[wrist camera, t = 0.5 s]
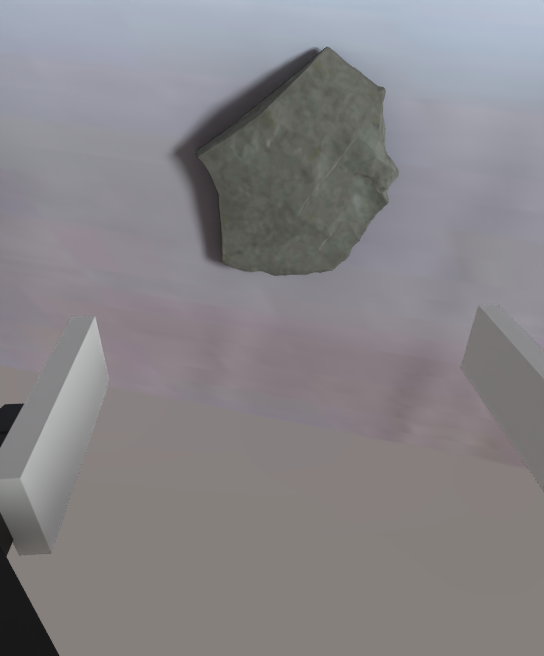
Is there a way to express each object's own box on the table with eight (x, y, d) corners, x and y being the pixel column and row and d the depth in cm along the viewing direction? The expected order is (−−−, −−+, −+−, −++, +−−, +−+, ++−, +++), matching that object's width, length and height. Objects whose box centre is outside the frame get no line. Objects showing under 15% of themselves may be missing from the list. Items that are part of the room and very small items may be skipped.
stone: (359, 22, 32) (450, 203, 38) (342, 34, 37) (426, 194, 43) (150, 182, 35) (264, 328, 41) (158, 175, 40) (260, 308, 46)
